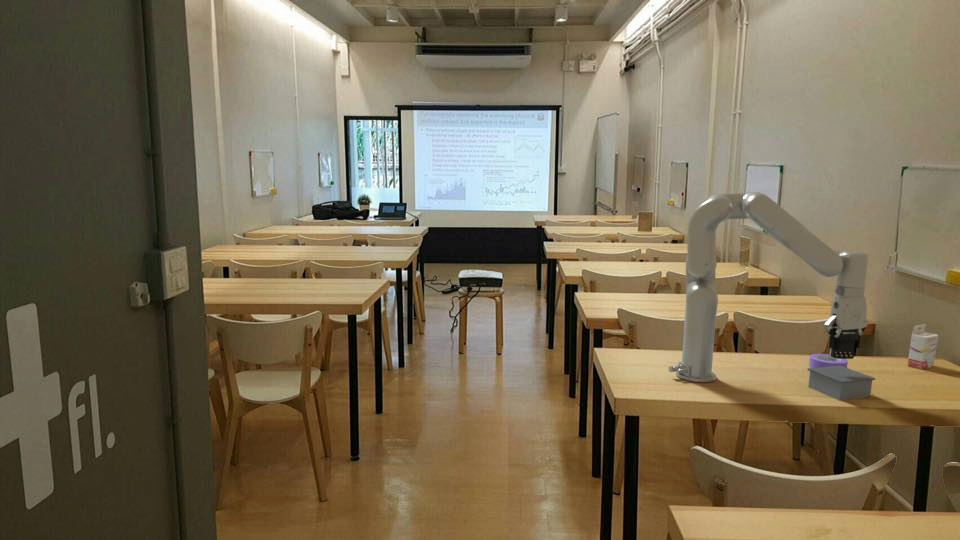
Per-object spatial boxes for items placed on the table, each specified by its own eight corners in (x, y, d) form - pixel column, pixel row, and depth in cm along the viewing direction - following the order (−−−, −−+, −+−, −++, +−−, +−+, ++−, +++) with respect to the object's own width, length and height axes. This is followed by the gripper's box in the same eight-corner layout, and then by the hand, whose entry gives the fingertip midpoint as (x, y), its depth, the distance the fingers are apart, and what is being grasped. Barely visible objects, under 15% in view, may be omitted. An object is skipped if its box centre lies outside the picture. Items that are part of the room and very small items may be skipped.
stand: (839, 401, 192) (841, 381, 191) (805, 386, 205) (807, 368, 204) (872, 397, 196) (875, 378, 195) (837, 383, 208) (839, 365, 207)
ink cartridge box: (922, 370, 224) (927, 329, 221) (906, 366, 228) (912, 325, 225) (934, 366, 228) (940, 326, 225) (919, 362, 232) (924, 323, 230)
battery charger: (834, 359, 197) (838, 323, 195) (827, 356, 200) (831, 320, 199) (857, 360, 197) (861, 324, 195) (850, 356, 200) (854, 321, 198)
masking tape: (802, 363, 229) (803, 353, 229) (834, 363, 230) (835, 353, 229) (820, 374, 218) (821, 363, 217) (854, 374, 218) (855, 363, 218)
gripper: (837, 295, 189) (831, 353, 192) (882, 292, 194) (876, 349, 197) (817, 290, 196) (811, 346, 199) (861, 288, 201) (855, 342, 204)
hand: (843, 347), depth 198 cm, fingers closed on battery charger, 7 cm apart
